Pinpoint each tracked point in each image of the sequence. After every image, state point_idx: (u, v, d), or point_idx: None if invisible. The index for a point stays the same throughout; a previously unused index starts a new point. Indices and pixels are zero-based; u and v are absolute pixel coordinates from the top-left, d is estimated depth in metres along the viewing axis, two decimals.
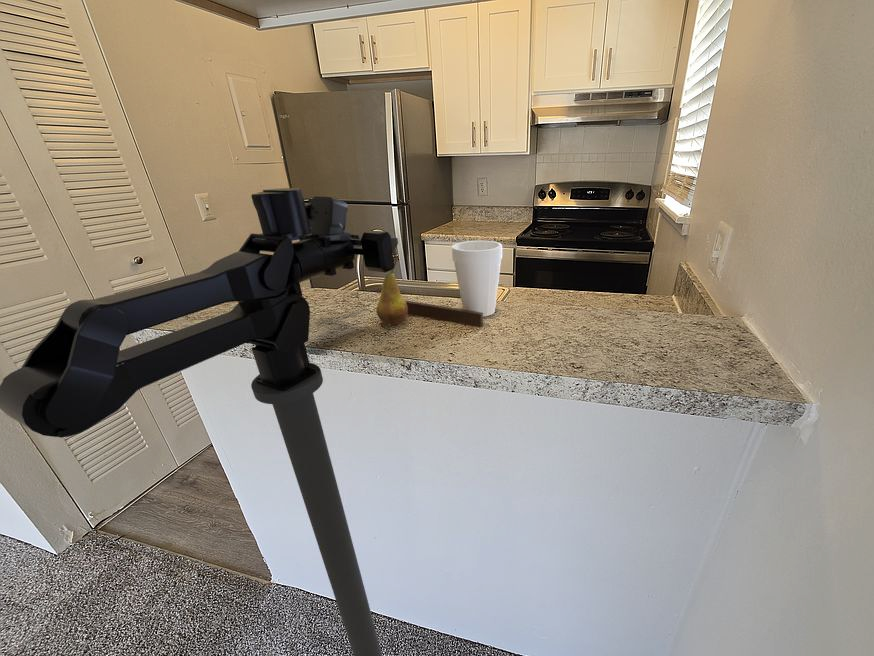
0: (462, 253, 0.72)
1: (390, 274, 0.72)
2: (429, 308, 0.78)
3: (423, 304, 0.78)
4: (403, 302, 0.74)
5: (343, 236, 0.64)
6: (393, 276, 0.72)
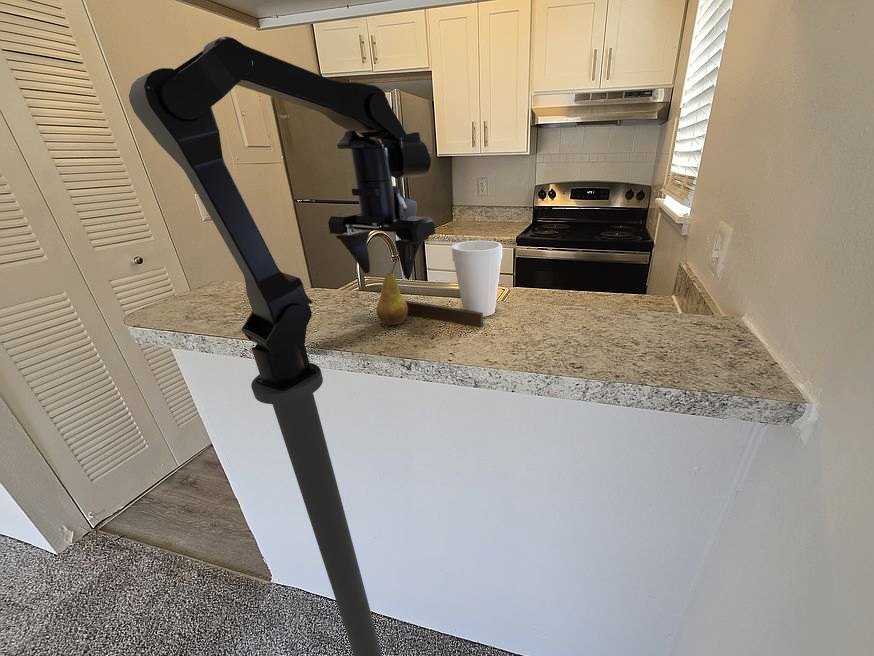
0: (462, 253, 0.72)
1: (390, 274, 0.72)
2: (429, 308, 0.78)
3: (423, 304, 0.78)
4: (403, 302, 0.74)
5: (402, 209, 0.68)
6: (393, 276, 0.72)
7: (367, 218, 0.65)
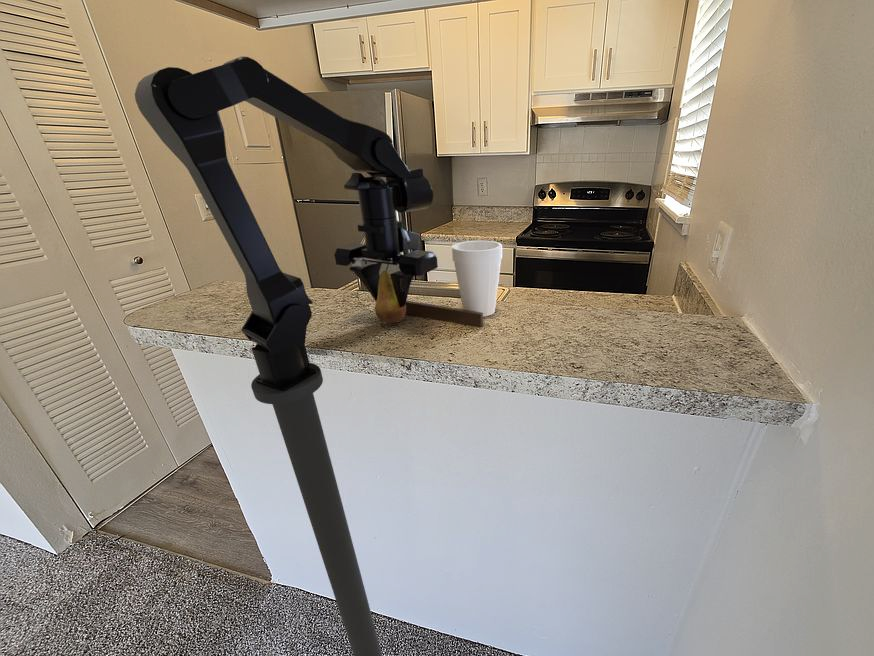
0: (462, 253, 0.72)
1: (385, 272, 0.72)
2: (429, 308, 0.78)
3: (423, 304, 0.78)
4: None
5: (405, 242, 0.71)
6: (388, 273, 0.73)
7: (372, 253, 0.68)
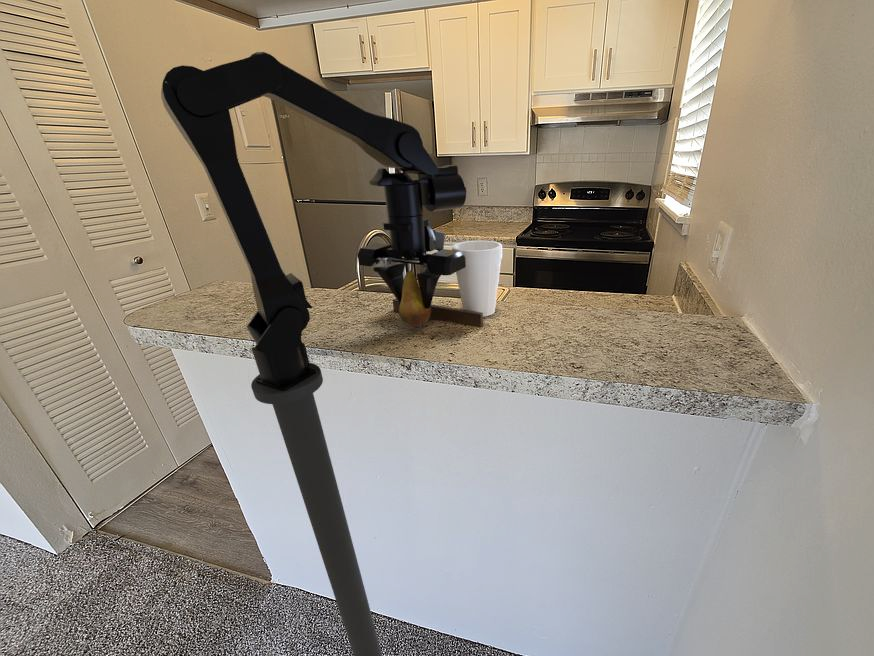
0: None
1: (409, 272, 0.70)
2: None
3: None
4: None
5: (432, 241, 0.68)
6: (413, 274, 0.70)
7: (398, 252, 0.65)
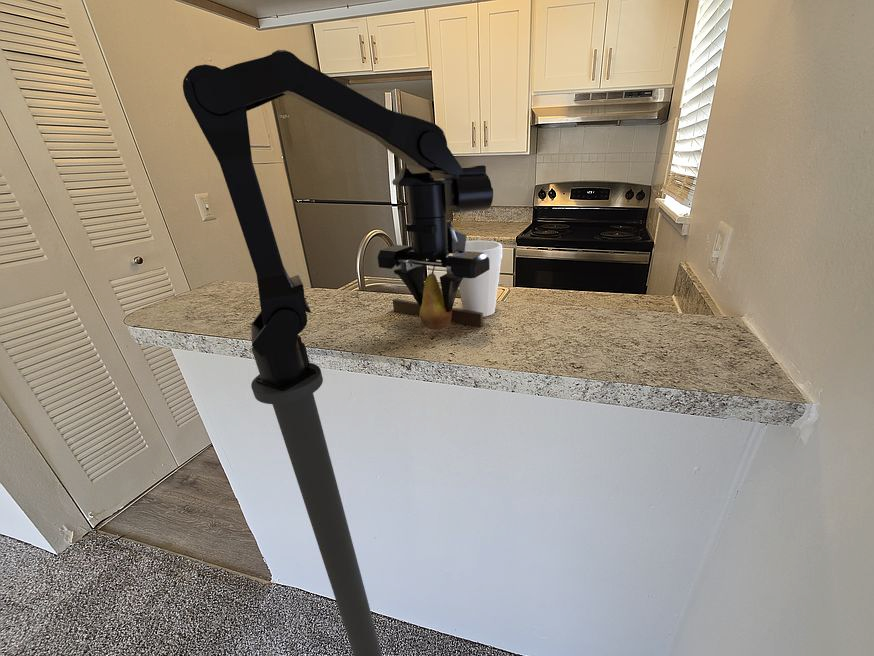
0: None
1: (431, 275, 0.68)
2: None
3: None
4: None
5: (454, 243, 0.66)
6: (434, 276, 0.68)
7: (421, 254, 0.64)
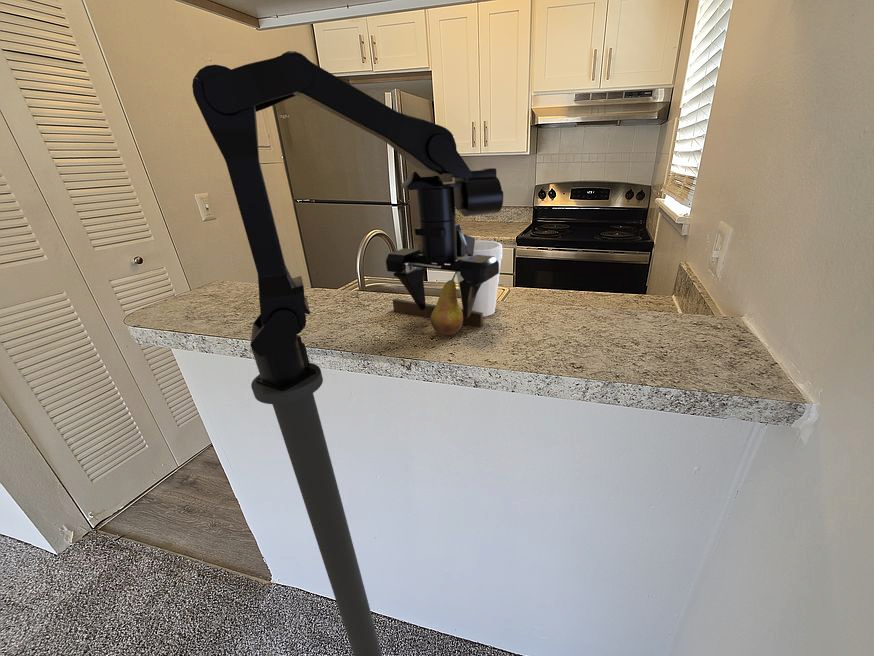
0: None
1: (451, 281, 0.67)
2: (429, 308, 0.78)
3: None
4: (460, 312, 0.69)
5: (463, 246, 0.66)
6: (454, 284, 0.67)
7: (430, 258, 0.63)
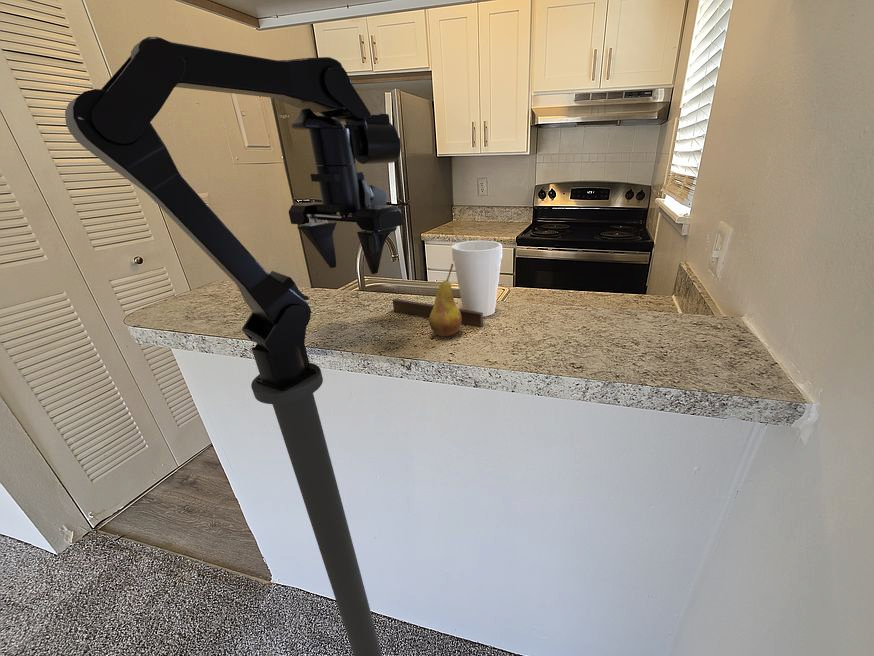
0: (462, 253, 0.72)
1: (446, 282, 0.67)
2: (429, 308, 0.78)
3: (423, 304, 0.78)
4: (458, 312, 0.69)
5: (368, 197, 0.62)
6: (449, 284, 0.67)
7: (328, 207, 0.59)
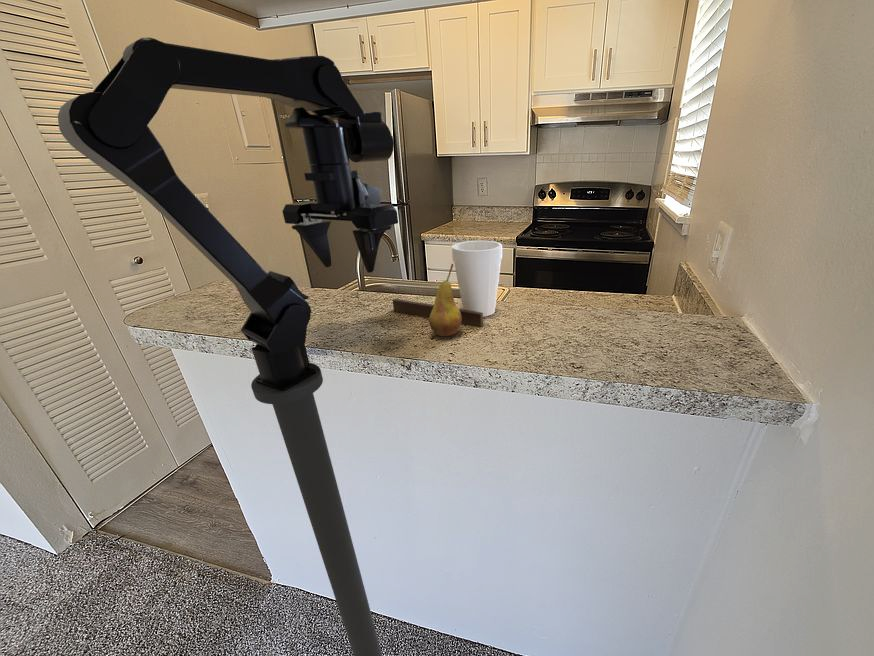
0: (462, 253, 0.72)
1: (446, 282, 0.67)
2: (429, 308, 0.78)
3: (423, 304, 0.78)
4: (458, 312, 0.69)
5: (362, 196, 0.62)
6: (449, 284, 0.67)
7: (322, 206, 0.59)
